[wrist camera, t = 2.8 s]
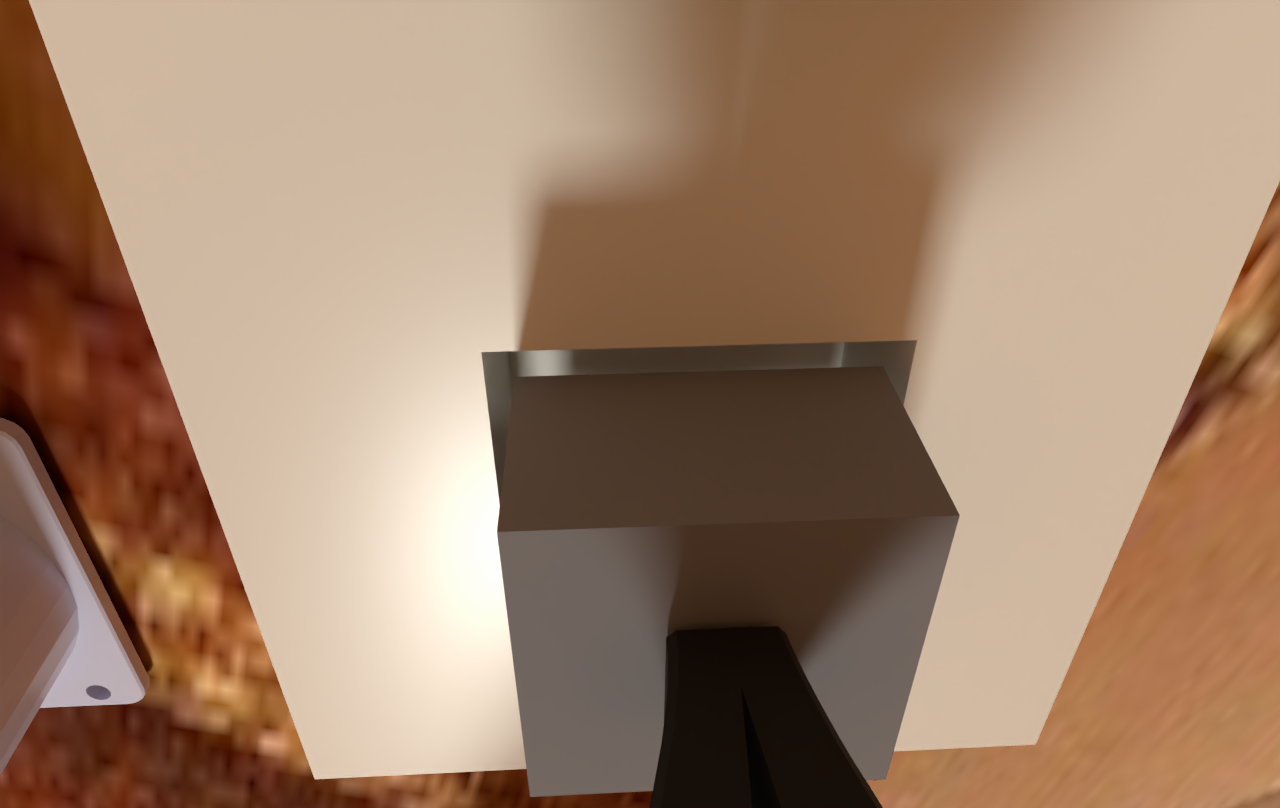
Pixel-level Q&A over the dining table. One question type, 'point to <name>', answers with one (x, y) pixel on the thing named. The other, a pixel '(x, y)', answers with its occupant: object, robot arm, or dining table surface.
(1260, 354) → the dining table surface
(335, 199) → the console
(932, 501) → the charcoal key
